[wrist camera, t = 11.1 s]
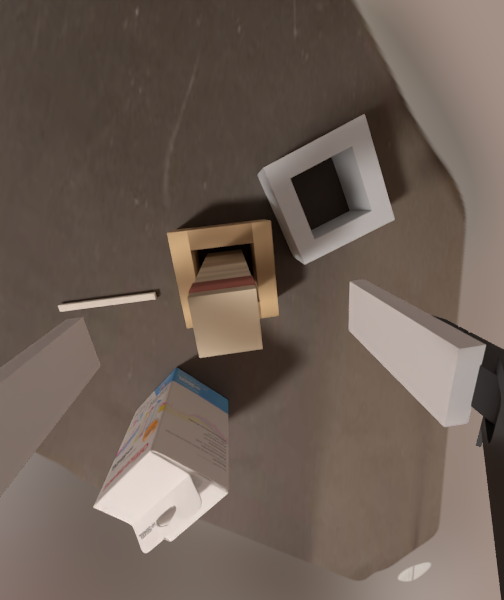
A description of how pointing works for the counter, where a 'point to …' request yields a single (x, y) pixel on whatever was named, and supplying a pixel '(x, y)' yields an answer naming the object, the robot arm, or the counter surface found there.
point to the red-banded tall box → (225, 306)
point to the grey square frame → (355, 183)
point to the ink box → (170, 461)
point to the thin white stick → (107, 301)
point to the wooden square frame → (221, 235)
